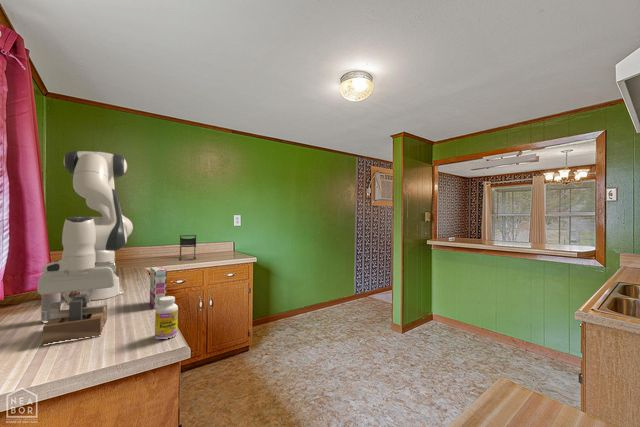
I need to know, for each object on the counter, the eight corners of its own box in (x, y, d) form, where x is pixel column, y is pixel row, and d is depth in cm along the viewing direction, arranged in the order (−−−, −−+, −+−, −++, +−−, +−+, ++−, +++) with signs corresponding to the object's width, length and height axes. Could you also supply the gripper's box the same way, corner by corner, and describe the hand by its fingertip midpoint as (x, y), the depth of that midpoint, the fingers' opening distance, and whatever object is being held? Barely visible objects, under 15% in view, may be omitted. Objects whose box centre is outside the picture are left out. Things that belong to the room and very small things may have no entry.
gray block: (76, 317, 99) (76, 295, 100) (86, 315, 101) (87, 293, 101) (68, 327, 91) (69, 302, 91) (80, 325, 92) (81, 301, 92)
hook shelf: (57, 327, 99) (58, 297, 99) (106, 320, 107) (107, 291, 107) (42, 346, 86) (43, 310, 86) (100, 336, 93) (100, 303, 93)
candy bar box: (166, 307, 123) (167, 269, 123) (153, 309, 119) (154, 271, 119) (161, 300, 131) (161, 265, 131) (149, 302, 128) (149, 267, 128)
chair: (179, 260, 239) (179, 235, 239) (179, 257, 254) (180, 233, 254) (196, 259, 244) (196, 234, 244) (195, 257, 260) (195, 233, 260)
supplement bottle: (156, 342, 89) (156, 302, 89) (153, 335, 94) (154, 297, 94) (179, 337, 93) (179, 298, 93) (175, 330, 98) (176, 294, 98)
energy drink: (59, 317, 109) (59, 286, 109) (61, 320, 106) (62, 289, 106) (40, 321, 105) (40, 289, 105) (42, 325, 102) (42, 292, 102)
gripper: (117, 259, 104) (116, 296, 104) (42, 264, 94) (41, 305, 94) (115, 262, 99) (114, 301, 99) (35, 267, 88) (35, 311, 88)
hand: (78, 303), depth 96 cm, fingers closed on gray block, 3 cm apart
